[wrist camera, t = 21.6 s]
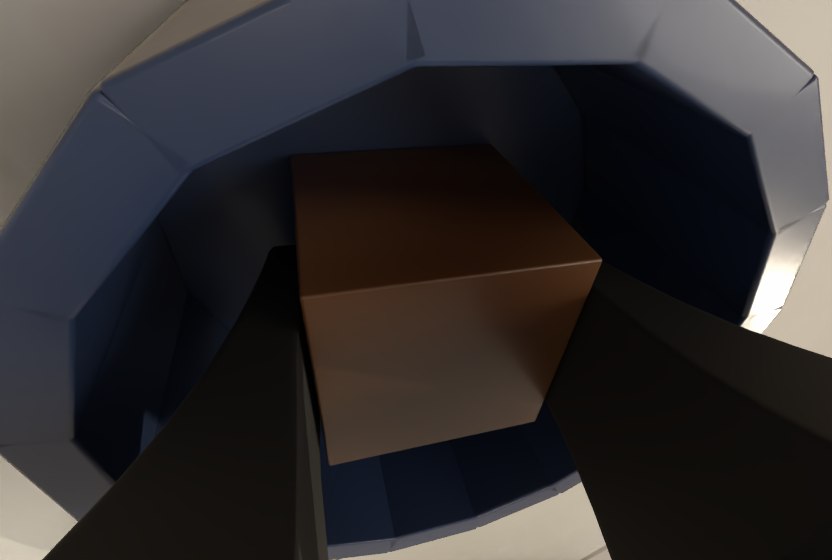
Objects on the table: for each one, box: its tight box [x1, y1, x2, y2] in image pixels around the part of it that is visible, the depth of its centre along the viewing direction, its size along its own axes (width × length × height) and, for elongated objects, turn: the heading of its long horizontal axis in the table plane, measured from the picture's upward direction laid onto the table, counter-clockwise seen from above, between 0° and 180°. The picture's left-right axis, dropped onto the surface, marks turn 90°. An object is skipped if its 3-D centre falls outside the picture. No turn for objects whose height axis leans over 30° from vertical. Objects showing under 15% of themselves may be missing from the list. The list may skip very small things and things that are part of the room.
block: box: [290, 144, 602, 466], centre depth 9 cm, size 4×4×4 cm
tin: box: [0, 0, 829, 560], centre depth 9 cm, size 12×12×5 cm
